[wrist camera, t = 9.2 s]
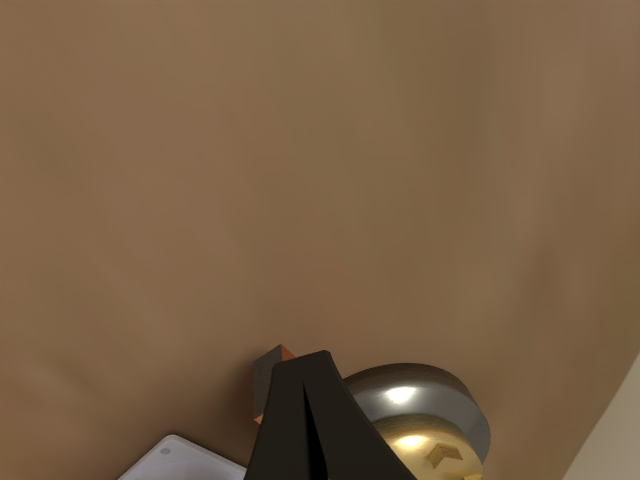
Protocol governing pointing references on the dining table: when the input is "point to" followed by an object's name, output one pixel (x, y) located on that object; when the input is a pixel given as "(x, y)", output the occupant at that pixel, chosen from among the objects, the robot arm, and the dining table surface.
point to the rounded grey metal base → (420, 398)
